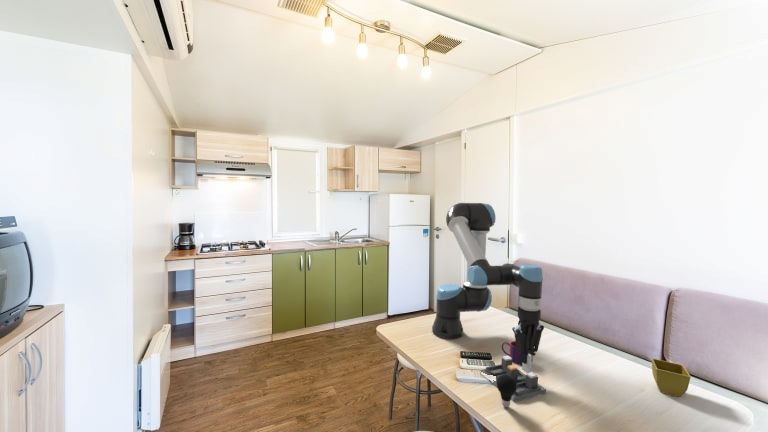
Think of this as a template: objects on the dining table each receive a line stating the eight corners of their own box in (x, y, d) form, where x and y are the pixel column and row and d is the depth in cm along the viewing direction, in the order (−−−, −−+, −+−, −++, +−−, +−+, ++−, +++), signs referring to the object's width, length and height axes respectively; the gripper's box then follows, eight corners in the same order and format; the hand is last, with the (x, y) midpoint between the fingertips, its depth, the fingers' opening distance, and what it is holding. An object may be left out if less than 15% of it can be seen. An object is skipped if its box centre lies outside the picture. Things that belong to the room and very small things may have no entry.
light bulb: (492, 401, 100) (493, 371, 100) (509, 400, 101) (511, 370, 100) (500, 413, 95) (502, 381, 94) (519, 412, 95) (520, 381, 95)
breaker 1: (501, 367, 118) (501, 356, 118) (507, 366, 119) (508, 355, 119) (505, 370, 116) (506, 359, 115) (512, 369, 117) (512, 358, 116)
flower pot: (689, 403, 102) (691, 376, 101) (654, 393, 106) (656, 368, 106) (681, 389, 109) (683, 364, 109) (649, 381, 114) (651, 357, 113)
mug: (523, 366, 122) (524, 350, 122) (498, 357, 129) (499, 341, 129) (529, 360, 127) (530, 344, 127) (505, 352, 134) (505, 337, 133)
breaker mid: (506, 377, 111) (506, 365, 111) (512, 376, 112) (513, 364, 112) (510, 381, 109) (511, 369, 109) (517, 379, 110) (518, 367, 110)
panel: (480, 373, 116) (480, 367, 116) (510, 367, 121) (510, 362, 121) (513, 401, 100) (513, 394, 100) (546, 393, 105) (546, 387, 105)
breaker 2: (525, 385, 107) (525, 373, 106) (532, 383, 108) (532, 371, 107) (530, 389, 104) (531, 376, 104) (537, 387, 105) (538, 375, 105)
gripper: (523, 313, 106) (520, 379, 107) (551, 309, 110) (548, 373, 111) (507, 306, 113) (504, 368, 114) (534, 302, 117) (532, 363, 119)
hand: (526, 370), depth 113 cm, fingers closed
